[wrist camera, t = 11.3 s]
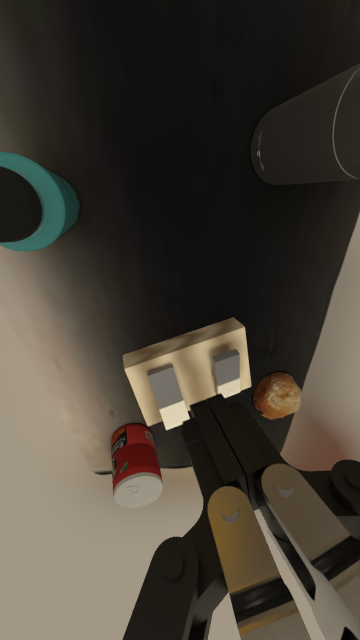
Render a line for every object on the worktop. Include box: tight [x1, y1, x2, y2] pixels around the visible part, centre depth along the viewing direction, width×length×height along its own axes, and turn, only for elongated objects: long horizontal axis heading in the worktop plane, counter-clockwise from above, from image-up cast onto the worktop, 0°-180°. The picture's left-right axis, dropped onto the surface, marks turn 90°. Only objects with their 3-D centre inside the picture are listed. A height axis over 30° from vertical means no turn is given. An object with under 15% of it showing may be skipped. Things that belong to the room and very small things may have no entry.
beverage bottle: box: [0, 152, 80, 251], centre depth 22 cm, size 6×7×20 cm
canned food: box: [111, 423, 163, 508], centre depth 46 cm, size 8×8×11 cm
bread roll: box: [253, 372, 302, 419], centre depth 54 cm, size 10×10×8 cm
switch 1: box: [147, 364, 190, 430], centre depth 41 cm, size 4×10×2 cm, turn 13°
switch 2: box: [212, 349, 240, 398], centre depth 43 cm, size 4×10×2 cm, turn 13°
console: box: [123, 317, 251, 426], centre depth 45 cm, size 20×13×4 cm, turn 103°
